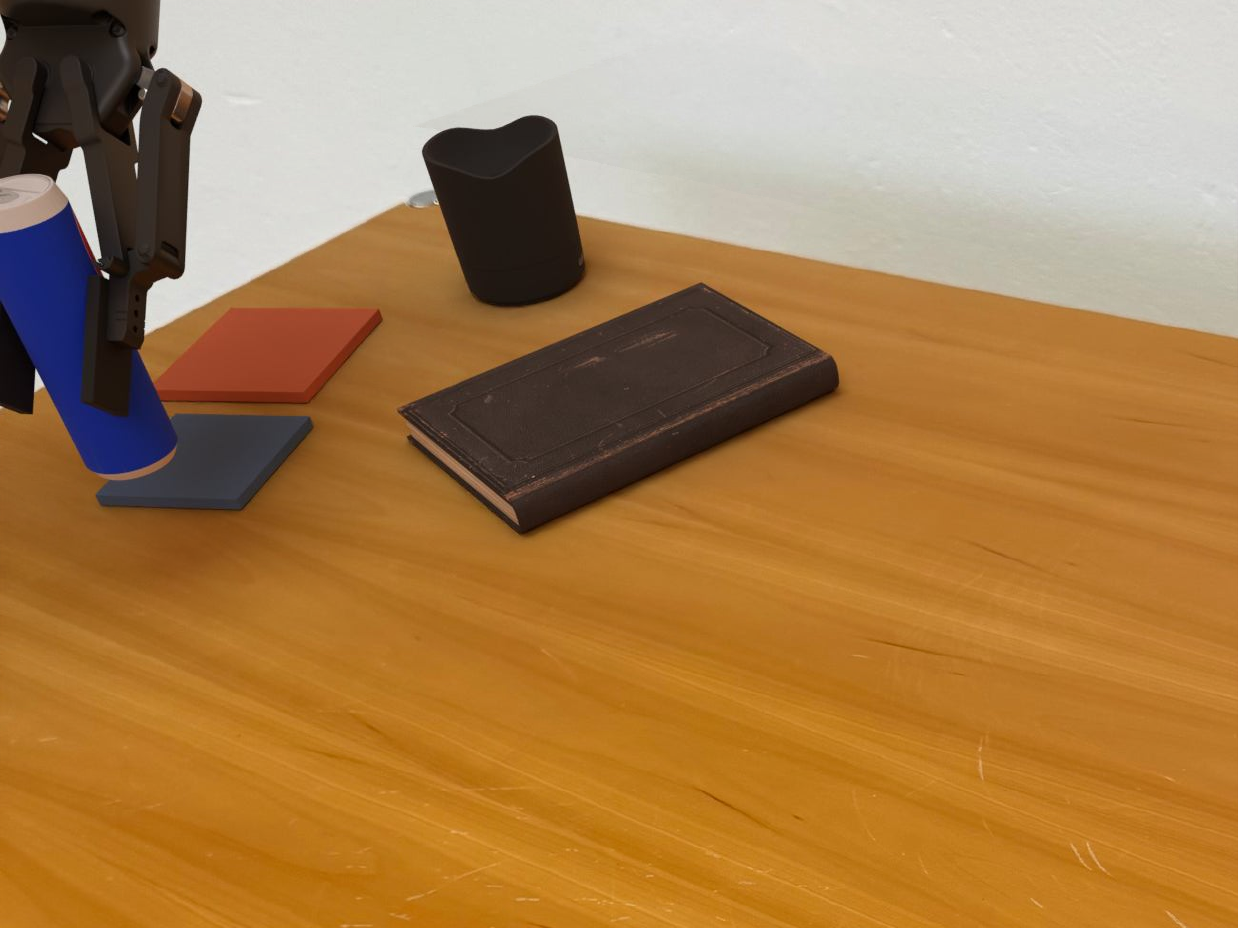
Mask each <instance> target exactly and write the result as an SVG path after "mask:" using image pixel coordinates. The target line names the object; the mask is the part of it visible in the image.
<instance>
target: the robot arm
mask: <svg viewBox="0 0 1238 928" xmlns="http://www.w3.org/2000/svg"><path fill="white" fill-rule="evenodd" d="M160 16H161V0H0V19H1V21H2V24H3V28H4V31H5V41H4V45H3V47H2V49H1V52H0V179H2V178H6V177H11V176H16V175H24V174H41V175H46V176H49V177H50V178H52V180H53V181H54V182H55V183H56V184H57V180H58V176H59V173H60V172H61V171H62V170H66V169H67V168H69V165H70V162H71V159H72V156H73V152H74V150H75V149H77V148H81V150H82V154H83V158H84V164H85V170H86V176H87V183H88V187H89V188H88V189H89V194H90V200H91V205H92V211H93V217H94V224H95V229H96V234H97V235H96V236H97V241H98V246H99V251H100V258H98V259H96V261H95V260H93V263H94V265H95V266H96V267H97V268H98V269H100V270H101V271H102V272H104V273H106V274H108V278H107V277H105V276H104V275H103V276H104V277H103V276H101V275H88V281H87V298H86V315H85V332H84V348H83V365H82V382H81V399H80V402H82V403H84V404H86V405H89V406H91V407H94V408H96V409H99V410H101V411H103V412H106V413H108V414H111V415H113V416H116V417H129V401H130V385H131V368H132V352H133V350H138V351H140V350H141V349H142V346H143V344H144V342H145V331H146V330H145V329H146V316H147V301H148V300H147V299H148V293H149V290H150V289H151V288H152V287H153V286H154V283H156V282H159V281H162V280H163V279H167V278H168V279H170V280H174V281H175V280H178V279H180V278H182V277H183V276H184V273H185V271H186V270H185V269H186V258H187V257H186V254H187V253H186V252H187V233H188V209H189V207H188V206H189V181H190V162H191V161H190V160H191V158H190V157H191V136H192V133H193V132H194V131H193V130H194V128H195V125H196V122H197V119H198V116H199V114H200V111H201V108H202V105H203V97H202V95H201V93H200V92H199V91H197V90H196V89H194V88H193V87H192V86H191V85H190V84H188V83H187V82H185V81H184V80H183V79H182V78H180V77H179V76H177V75H176V74H175V73H174V72H173V71H171V70H169V69H168V68H166V67H160V68H158V69H156V70H155V68H154V66H153V63H152V59H154V57H155V56H156V54H157V53H158V52H157V51H158V46H159V34H160V33H159V31H160ZM139 112H140V115H139V123H138V143H137V138H136V133H135V127H134V121H133V120H134V119H135V118H136V116H137V115H138V113H139ZM37 137H39V138H40V139H39V138H37ZM41 139H42V140H41ZM43 140H44V141H45V142H44V141H43ZM136 164H137V172H136ZM36 372H37V370H36V368H35V366H34V364H33V362H32V360H31V358H30V356H29V355H28V353H27V351H26V349H25V347H24V345H23V343H22V341H21V339H20V337H19V335H18V333H17V331H16V329H15V327H14V325H13V323H12V321H11V319H10V317H9V316H8V314H7V312H6V310H5V308H4V306H3V304H2V302H1V300H0V407H1V408H4V409H7V410H9V411H11V412H15V413H17V414H20V415H34V403H35V388H36V387H35V386H36Z"/></svg>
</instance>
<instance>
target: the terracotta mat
mask: <svg viewBox="0 0 1238 928" xmlns="http://www.w3.org/2000/svg"><path fill="white" fill-rule="evenodd" d="M382 320H383V316H382V313H381V310H380V308H374V307H373V308H372V307H371V308H370V307H369V308H363V307H361V308H360V307H359V308H354V307H353V308H352V307H351V308H346V307H345V308H344V307H332V308H331V307H328V308H327V307H230V308H229V309H228V310H227V311H226V312H224V314H222V316H221V317H219V319H217V320H216V321H215V323H213V324H212V325H211V326H210V327H209V328H207V330H206V331H205V332H204V333H203V334H202V335H201V336H199V338H198V339H197V340H196V341H195V342H194V343H192V345H190V346H189V348H187V350H186V351H184V352H183V354H181V355H180V356H179V357H178V358H177V359H176V360H175V361H174V362H173V363H172V364H171V365H170V366H169V367H168V368H167V369H166V370H165V371H164V372H163V373H162V374H160V376H158V377H157V378H156V379H155V380H154V381H153V384H154V387H155V389H156V391H157V393H158V395H159V397H160V400H161V401H177V402H178V401H179V402H181V401H183V402H185V401H186V402H232V403H233V402H235V403H236V402H237V403H238V402H239V403H240V402H241V403H242V402H243V403H294V404H295V403H297V404H299V403H300V404H308V403H309V402H310V401H311V400H312V398H314V396H316V394H317V393H318V392H319V391H320V390H321V388H323V386H324V385H325V384H326V383H327V382H328V381H329V379H331V378H332V376H333V375H334V374H335V373H336V372H337V371H338V369H339V368H340V367H341V366H342V365H343V364H344V363H345V361H346V360H347V359H348V358H349V357H350V356H351V355H352V354H353V353H354V351H355V350H356V349H357V348H358V347H359V346H360V345H361V344H362V342H364V340H365V339H366V338H367V337H368V336H369V335H370V334H371V332H373V330H374V329H375V328H376V327H377V326H378V324H380V323H381V322H382Z"/></svg>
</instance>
